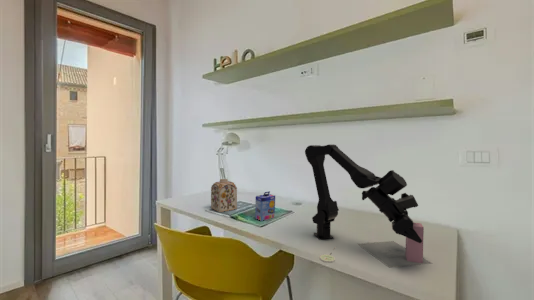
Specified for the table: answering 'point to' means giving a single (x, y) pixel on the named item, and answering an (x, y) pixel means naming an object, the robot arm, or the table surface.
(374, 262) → the table surface
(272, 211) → the ink cartridge box
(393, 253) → the mat
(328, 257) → the sign
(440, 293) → the table surface
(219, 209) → the decorative jar
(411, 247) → the pink box
